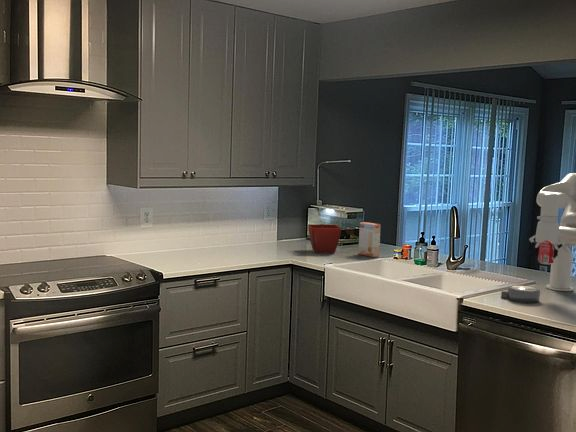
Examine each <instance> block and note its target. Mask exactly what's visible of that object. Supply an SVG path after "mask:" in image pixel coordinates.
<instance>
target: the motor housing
mask: <svg viewBox="0 0 576 432" xmlns="http://www.w3.org/2000/svg"><path fill="white" fill-rule="evenodd" d="M540 296H541V290H540V289H538V288H535V287H532V286H528V285H527V286H526V285H511V286H508V287H507V290H504V289H503V290H501V296H500V298H501V299H507V300H509V301H510V302H514V303H519V304H528V305H529V304H531V305H533V304H534V305H535V304H539V303H540Z"/></svg>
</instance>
